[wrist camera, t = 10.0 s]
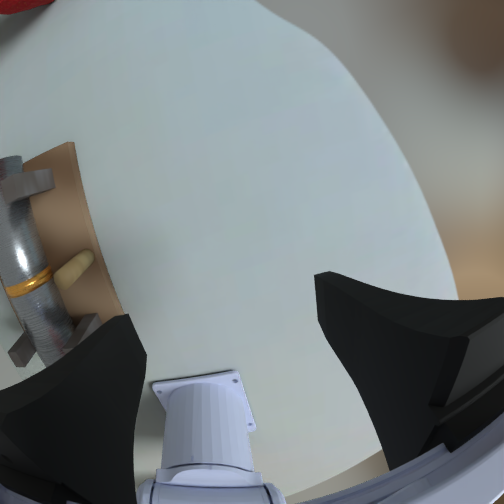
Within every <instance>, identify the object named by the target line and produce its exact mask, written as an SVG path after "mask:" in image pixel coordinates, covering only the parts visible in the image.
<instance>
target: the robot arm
mask: <svg viewBox="0 0 504 504" xmlns="http://www.w3.org/2000/svg"><path fill="white" fill-rule="evenodd" d="M314 280H315V291H316V302H317V315H318V321H319V324H320V326H321V328H322V331H323V333H324V335H325V337H326V339H327V341H328V343H329V344H330V346H331V347H332V349H333V350H334V352H335V354H336V355H337V357H338V358H339V360H340V361H341V363H342V364H343V366H344V368H345V369H346V371H347V372H348V374H349V375H350V377H351V378H352V380H353V382H354V384H355V385H356V387H357V389H358V391H359V393H360V395H361V398H362V400H363V402H364V404H365V406H366V408H367V411H368V413H369V416H370V418H371V420H372V423H373V425H374V427H375V430H376V433H377V435H378V438H379V441H380V443H381V446H382V449H383V451H384V454H385V457H386V461H387V463H388V467H389V470H390V471H389V472H387V473H385V474H383V475H380V476H379V477H376V478H374V479H371V480H369V481H366V482H364V483H361V484H359V485H356V486H353V487H350V488H348V489H345V490H342V491H339V492H336V493H333V494H330V495H326V496H323V497H320V498H316V499H312V500H309V501H305V502H301V503H297V504H492V503H494V502H495V501H496V500H497V499H498V498H499V497H500V496H501V495H502V494H503V493H504V297H497V298H489V299H479V300H440V299H429V298H421V297H415V296H410V295H405V294H400V293H396V292H392V291H388V290H385V289H381V288H378V287H375V286H372V285H369V284H366V283H363V282H360V281H357V280H355V279H352V278H349V277H346V276H344V275H341V274H338V273H334V272H330V271H328V272H324V273H320V274H316V275H314ZM146 361H147V354H146V352H145V350H144V348H143V345H142V343H141V341H140V339H139V337H138V335H137V332H136V330H135V328H134V326H133V323H132V321H131V319H130V316H129V314H124V315H118V316H114V317H113V318H111V319H109V320H108V321H107V322H105V323H104V324H103V325H101V326H100V327H99V328H98V329H96V330H95V331H94V332H93V333H92V334H90V335H89V336H88V337H87V338H86V339H84V340H83V341H82V342H81V343H79V344H78V345H77V346H76V347H74V348H73V349H72V350H71V351H69V352H68V353H67V354H66V355H64V356H63V357H62V358H60V359H59V360H57V361H56V362H55V363H53V364H51V365H50V366H48V367H47V368H45V369H44V370H42V371H40V372H39V373H37V374H35V375H33V376H31V377H29V378H28V379H26V380H24V381H22V382H20V383H18V384H15V385H13V386H11V387H8V388H6V389H3V390H0V504H287V503H286V501H285V498H284V496H283V494H282V492H281V491H280V490H279V489H278V488H276V487H275V486H274V485H273V484H272V483H263V481H262V476H261V472H255V471H254V466H253V460H252V454H251V448H250V442H249V436H248V432H252V431H255V430H256V425H255V422H254V419H253V416H252V413H251V410H250V406H249V403H248V400H247V397H246V394H245V391H244V388H243V384H242V381H241V378H240V375H239V373H238V372H237V371H228V372H223V373H217V374H211V375H205V376H199V377H192V378H185V379H178V380H170V381H162V382H155V383H153V385H152V389H153V391H154V392H155V394H156V396H157V397H158V399H159V401H160V402H161V404H162V406H163V407H164V409H165V411H166V420H165V430H164V439H163V450H162V462H161V469H156V480H154V479H147V480H145V482H143V483H142V484H141V485H140V486H139V487H138V490H137V493H136V492H135V481H134V463H133V447H134V429H135V422H136V417H137V412H138V407H139V402H140V398H141V393H142V389H143V384H144V380H145V374H146ZM234 379H237V380H234ZM158 390H160V391H158Z"/></svg>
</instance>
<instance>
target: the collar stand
mask: <svg viewBox="0 0 504 504" xmlns="http://www.w3.org/2000/svg"><path fill="white" fill-rule="evenodd" d="M23 168H24V172H23V173H17V174H13V175H11V176H9V177H7V178H6V179H4V180H2V181H1V186H2V191H3V196H4V200H5V205H6V204H9V203H12V202H15V201H18V200H21V199H24V198H27V197H29V198H30V202H31V207H32V211H33V215H34V218H35V222H36V226H37V229H38V233H39V236H40V239H41V242H42V246H43V249H44V252H45V255H46V258H47V260H48V263H49V264H50V267H51V270H52V272H53V277H54V282H55V284H56V285H57V287H58V289H59V292H60V294H61V297H62V299H63V301H64V303H65V306H66V308H67V310H68V312H69V314H70V317H71V319H72V321H73V323H74V325H75V327H76V329H75V330H74V332H73V333H72V335H71V336H70V338H69V340H68V341H67V343H66V344H65V346H64V347H63V349H62V350H63V351H64V353H65V355H66V354H67V353H68V352H69V351H71V350H72V349H73V348H74V347H76V346H77V345H78V344H79V343H81V342H82V341H83V340H84V339H86V338H87V337H88V336H89V335H90V334H92V333H93V332H94V331H95V330H96V329H98V328H99V327H100V326H101V325H103V324H104V323H105V322H107V321H108V320H109V319H111V318H113V317H114V316H118V315H124V312H123V310H122V307H121V305H120V302H119V300H118V297H117V295H116V292H115V290H114V287H113V284H112V282H111V279H110V276H109V273H108V271H107V268H106V265H105V262H104V259H103V256H102V253H101V250H100V247H99V244H98V241H97V237H96V234H95V231H94V227H93V224H92V220H91V217H90V213H89V209H88V205H87V202H86V198H85V193H84V189H83V185H82V180H81V176H80V171H79V166H78V161H77V156H76V150H75V144H74V142H66V143H64V144H61V145H59V146H57V147H55V148H53V149H51V150H49V151H47V152H44V153H42V154H40V155H38V156H36V157H35V158H33V159H31V160H29V161H27V162H25V163H23ZM0 280H1V282H2V285H3V287H4V284H3V281H2V278H1V276H0ZM4 290H5V288H4ZM5 292H6V290H5ZM6 294H7V293H6ZM7 297H8V295H7ZM8 299H9V301H10V304H11V306H12V308H13V310H14V312H15V314H16V316H17V313H16V311H15V309H14V307H13V305H12V303H11V300H10V298H9V297H8ZM17 318H18V316H17ZM18 320H19V318H18ZM19 322H20V320H19ZM20 324H21V322H20ZM21 326H22V324H21ZM22 328H23V326H22ZM23 330H24V328H23ZM35 352H36V350H35V348H34V346H33V344H32V343H31V341H30V339H29V337H28V335H27V333H26V332H25V330H24V333H23V334H22V335H21V336H20V338H19V339H18V340H17V341H16V343H15V344H14V345H13V346H12V347H11V349H10V350H9V351H8V354H9V356H10V358H11V359H12V361H13V362H14V364H15V366H16V367H25V366H26V365H27V364H28V362H29V361H30V359H31V358H32V356H33V355H34V353H35Z"/></svg>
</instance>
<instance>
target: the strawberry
mask: <svg viewBox="0 0 504 504" xmlns="http://www.w3.org/2000/svg"><path fill="white" fill-rule="evenodd" d="M53 1H54V0H0V14H7V15H10V14H14V13H17V12H21V11H25V10H29V9H32V8H35V7H38V6H41V5H46V4H49V3H51V2H53Z"/></svg>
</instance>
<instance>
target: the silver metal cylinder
mask: <svg viewBox="0 0 504 504" xmlns="http://www.w3.org/2000/svg"><path fill="white" fill-rule="evenodd" d="M23 172H24V168H23V162H22V157H21V156H9V157H5V158H2V159H0V276H1V278H2V281H3V284H4V288H5V290H6V293H7V295H8V297H9V298H10V300H11V303H12V305H13V307H14V309H15V311H16V313H17V316H18V318H19V320H20V322H21V324H22V326H23V328H24V330H25V332H26V333H27V335H28V337H29V339H30V341H31V343H32V344H33V346H34V348H35V350H36V351H37V353H38V355H39V357H40V358H41V360H42V362H43V363H44V365H45V366H46V368H47V367H48V366H50V365H51V364H53V363H55V362H56V361H57V360H59V359H60V358H62V357H63V356H64V355H65V353H64V351H63V350H62V349H63V347H64V346H65V344H66V343H67V341H68V340H69V338H70V336H71V335H72V333H73V332H74V330H75V329H76V327H75V325H74V323H73V321H72V319H71V317H70V314H69V312H68V310H67V308H66V306H65V303H64V301H63V299H62V297H61V294H60V292H59V289H58V287H57V285H56V284H55V282H54V277H53V272H52V270H51V267H50V264H49V263H48V260H47V258H46V255H45V252H44V249H43V246H42V242H41V239H40V236H39V233H38V229H37V226H36V222H35V218H34V215H33V211H32V207H31V202H30V198H29V197H27V198H24V199H21V200H18V201H15V202H12V203H9V204H6V205H5V200H4V196H3V191H2V186H1V181H2V180H4V179H6V178H7V177H9V176H11V175H13V174H17V173H23Z"/></svg>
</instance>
